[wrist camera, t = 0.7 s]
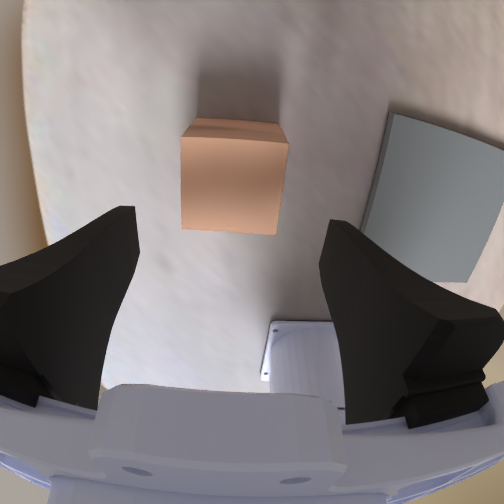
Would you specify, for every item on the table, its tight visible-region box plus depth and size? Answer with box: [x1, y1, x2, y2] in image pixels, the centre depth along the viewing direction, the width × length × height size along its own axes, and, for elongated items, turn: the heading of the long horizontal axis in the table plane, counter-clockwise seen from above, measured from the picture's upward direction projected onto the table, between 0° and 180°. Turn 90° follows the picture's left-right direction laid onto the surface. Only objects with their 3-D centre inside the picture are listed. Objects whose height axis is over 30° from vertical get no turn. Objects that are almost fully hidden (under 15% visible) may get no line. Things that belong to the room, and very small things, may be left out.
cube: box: [181, 118, 289, 235], centre depth 17 cm, size 5×5×5 cm
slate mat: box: [360, 112, 504, 283], centre depth 21 cm, size 13×13×1 cm
